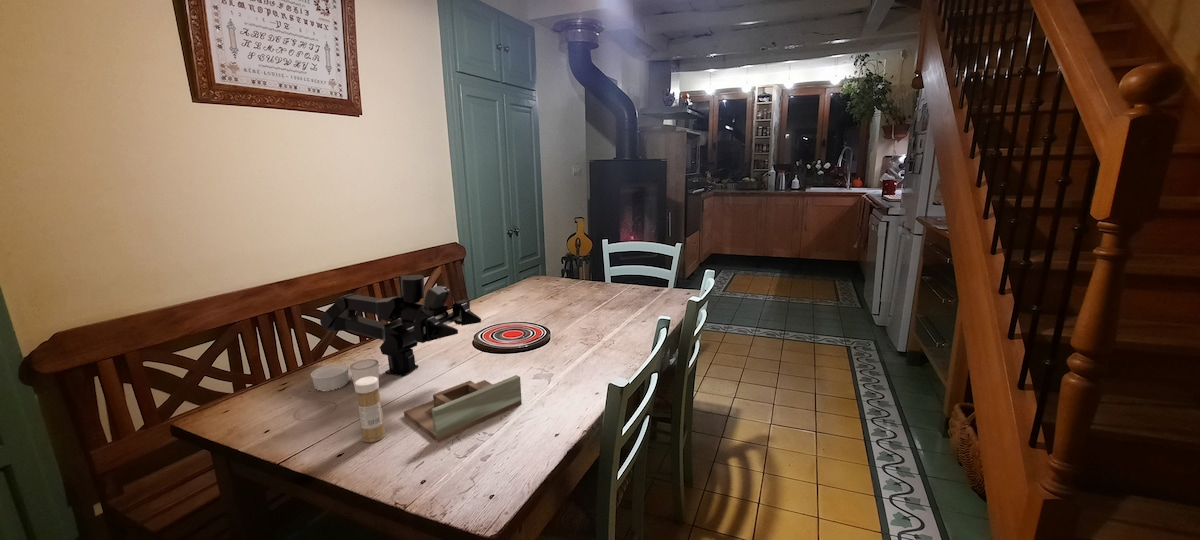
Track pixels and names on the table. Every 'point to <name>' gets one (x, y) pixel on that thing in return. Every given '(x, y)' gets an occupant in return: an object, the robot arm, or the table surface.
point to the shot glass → (364, 369)
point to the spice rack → (465, 406)
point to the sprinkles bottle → (370, 408)
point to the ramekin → (330, 377)
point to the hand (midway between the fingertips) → (469, 325)
